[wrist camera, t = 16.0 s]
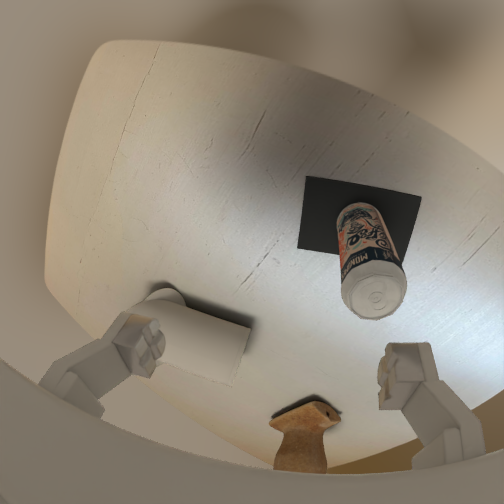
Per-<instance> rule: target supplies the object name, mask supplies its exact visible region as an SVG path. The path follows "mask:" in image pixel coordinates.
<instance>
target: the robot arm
mask: <svg viewBox="0 0 504 504" xmlns="http://www.w3.org/2000/svg"><path fill="white" fill-rule="evenodd" d="M160 326H161V325H160V323H159V321H158V319H155V318H151V317H146V316H142V315H138V314H133V313H129V312H125V311H124V312H122V313H120V314H119V316H118V317H117V318H116V320H115V321H114V322H113V324H112V325H111V326H110V328H109V329H108V330H107V332H106V333H105V334H104V336H103V337H102V339H96V340H95V341H93V342H91V343H89V344H87V345H85V346H83V347H81V348H79V349H78V350H76V351H74V352H72V353H70V354H68V355H66V356H64V357H62V358H61V359H59V360H57V361H55V362H54V363H53V364H52V365H51V367H50V368H49V369H48V371H47V372H46V374H45V375H44V376H43V378H42V379H41V381H40V382H39V384H36V383H35V382H33V381H32V380H30V379H29V378H27V377H26V376H24V375H23V374H21V373H20V372H19V371H17V370H16V369H14V368H13V367H12V366H10V365H9V364H8V363H6V362H5V361H4V360H2V359H1V358H0V504H504V449H501V450H498V451H495V452H492V453H489V454H486V451H485V444H484V437H483V431H482V426H481V421H480V420H479V419H478V418H477V417H476V416H475V415H474V414H473V412H472V411H471V410H470V409H469V408H468V407H467V406H466V405H465V404H464V402H463V401H462V400H461V399H460V398H459V397H458V396H457V395H456V394H455V393H454V392H453V391H452V390H451V388H450V387H449V386H448V385H447V384H446V383H445V382H444V381H443V380H439V377H438V373H437V368H436V364H435V360H434V356H433V353H432V349H431V345H430V344H429V343H388V344H387V346H386V348H385V356H384V357H382V358H381V360H380V363H379V367H378V376H377V378H378V384H379V385H380V386H381V390H380V392H379V394H378V395H379V410H401V411H402V413H403V414H404V416H405V417H406V419H407V420H408V422H409V424H410V425H411V427H412V428H413V430H414V431H415V433H416V434H417V436H418V438H419V439H420V441H421V442H422V444H423V445H424V447H425V448H423V449H422V450H421V451H420V452H418V454H416V455H415V456H414V457H413V458H412V470H408V471H400V472H390V473H375V474H315V473H300V472H289V471H280V470H272V469H264V468H258V467H252V466H246V465H241V464H236V463H230V462H226V461H221V460H217V459H213V458H208V457H205V456H201V455H197V454H193V453H190V452H186V451H182V450H179V449H176V448H173V447H169V446H167V445H164V444H161V443H158V442H155V441H152V440H149V439H146V438H144V437H141V436H139V435H136V434H133V433H131V432H129V431H126V430H124V429H121V428H119V427H117V426H114V425H112V424H110V423H108V422H105V421H103V420H101V419H100V418H101V416H102V415H103V413H104V411H105V409H104V407H103V405H102V404H101V403H100V402H99V401H98V399H99V398H101V397H102V396H103V395H105V394H106V393H108V392H109V391H110V390H112V389H113V388H114V387H116V386H117V385H118V384H120V383H121V382H122V381H124V380H125V379H126V378H128V377H129V376H131V375H132V374H135V375H138V376H142V377H146V378H149V379H150V377H151V375H152V373H153V372H154V370H155V368H156V366H157V364H156V360H157V359H159V358H160V357H162V355H163V353H164V350H165V345H166V340H165V336H164V334H163V333H162V332H161V331H160V330H159V328H160Z"/></svg>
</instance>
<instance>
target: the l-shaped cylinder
mask: <svg viewBox="0 0 504 504" xmlns="http://www.w3.org/2000/svg"><path fill="white" fill-rule="evenodd" d="M126 312H129V313H133V314H138V315H142V316H146V317H151V318H155V319H158V321H159V323H160V325H161V326H160V328H159V330H160V331H161V332H162V333H163V334H164V336H165V340H166V345H165V350H164V353H163V355H162V357H160V358H159V359H157V360H156V364H157V366H156V367H158V366H159V365H161V364H163V363H166V364H168V365H171V366H173V367H176V368H178V369H181V370H184V371H186V372H189V373H192V374H194V375H197V376H200V377H202V378H205V379H208V380H211V381H214V382H217V383H220V384H223V385H226V386H229V387H232V385H233V382H234V379H235V376H236V373H237V370H238V367H239V364H240V361H241V358H242V355H243V352H244V349H245V346H246V343H247V340H248V337H249V334H250V331H251V329H250V328H247V327H244V326H241V325H237V324H234V323H231V322H228V321H225V320H222V319H219V318H216V317H213V316H211V315H208V314H205V313H202V312H199V311H196V310H194V309H191V308H188V307H186V304H185V301H184V299H183V297H182V296H181V295H180V293H178V292H177V291H176V290H174V289H171V288H163V289H159V290H157V291H155V292H153V293H152V294H150V295H149V296H148V297H147V298H146V299H145V300H144V301H143V302H141V303H138V304H136V305H134V306H132V307H131V308H130V309H128V310H127V311H126ZM132 375H135V374H132ZM135 376H138V375H135Z"/></svg>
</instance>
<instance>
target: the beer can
mask: <svg viewBox="0 0 504 504" xmlns="http://www.w3.org/2000/svg"><path fill="white" fill-rule="evenodd" d="M337 231H338V240H339V253H340V267H341V296H342V299H343V302H344V303H345V305H346V306H347V307H348V308H349V309H350V310H351V311H352V312H353V313H354V314H355V315H357V316H358V317H359V318H360V319H367V320H380V319H382V318H385V317H387V316H390V315H392V314H393V313H394V312H395V311H396V310H397V309H398V307H399V306H400V305H401V304H402V302H403V299H404V296H405V293H406V289H407V280H406V276H405V273H404V270H403V268H402V265H401V262H400V260H399V257H398V255H397V252H396V249H395V247H394V244H393V242H392V240H391V237H390V235H389V232H388V230H387V228H386V225H385V223H384V221H383V218H382V216H381V214H380V213H379V211H378V210H377V209H376V208H375V207H373V206H372V205H370V204H367V203H354V204H351V205H349V206H347V207H346V208H344V209H343V210H342V212H341V213H340V215H339V217H338V219H337Z"/></svg>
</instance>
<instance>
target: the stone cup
mask: <svg viewBox="0 0 504 504" xmlns="http://www.w3.org/2000/svg"><path fill="white" fill-rule="evenodd" d="M339 422H341V418H340V417H339V416H338V415H337V413H336V412H335V411H334V410H333V409H332V408H331V407H330V406H329V405H327V404H325V403H323V402H318V401H312V402H309V403H307V404H304V405H302V406H300V407H297V408H295V409H293V410H291V411H288V412H286V413H284V414H282V415H280V416H278V417H276V418H274V419H272V420H271V421H270V422H269V425H270V426H271V427H273V428H275V429H277V430H279V431H281V432H283V433H284V438H283V441H282V444H281V446H280V448H279V450H278V452H277V454H276V457H275V461H274V468H273V470H280V471H289V472H300V473H315V474H326V471H327V460H326V456H325V451H324V445H323V433H324V431H325V430H326V429H327V428H329V427H331V426H332V425H334V424H337V423H339Z"/></svg>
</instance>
